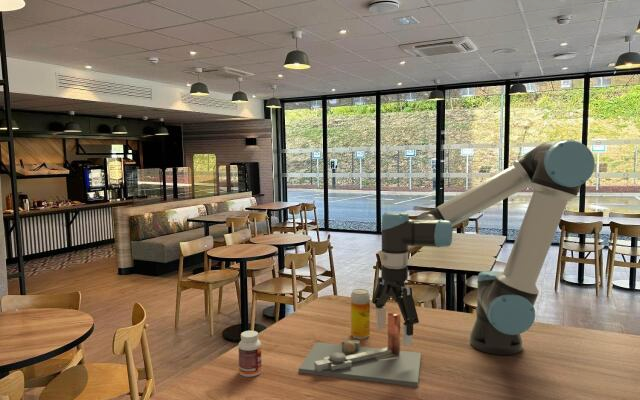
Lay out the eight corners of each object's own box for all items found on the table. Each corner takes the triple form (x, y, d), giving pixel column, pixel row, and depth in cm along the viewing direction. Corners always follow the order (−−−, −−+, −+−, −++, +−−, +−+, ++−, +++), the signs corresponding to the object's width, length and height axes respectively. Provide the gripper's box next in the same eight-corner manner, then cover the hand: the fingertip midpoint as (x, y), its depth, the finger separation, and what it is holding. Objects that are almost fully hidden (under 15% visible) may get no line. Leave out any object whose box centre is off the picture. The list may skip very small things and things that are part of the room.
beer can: (368, 340, 150) (368, 294, 148) (349, 338, 151) (349, 293, 150) (370, 333, 156) (370, 289, 154) (352, 331, 157) (352, 288, 156)
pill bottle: (263, 376, 127) (262, 337, 126) (239, 379, 126) (238, 339, 124) (260, 366, 133) (259, 328, 132) (238, 368, 132) (237, 330, 130)
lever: (320, 374, 125) (320, 332, 124) (311, 365, 130) (311, 325, 129) (404, 354, 136) (404, 316, 135) (393, 347, 141) (394, 310, 140)
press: (421, 356, 138) (421, 341, 138) (417, 386, 121) (417, 369, 120) (316, 345, 146) (315, 331, 146) (298, 372, 129) (298, 355, 128)
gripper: (361, 257, 145) (361, 324, 147) (409, 277, 122) (408, 356, 125) (382, 255, 148) (381, 320, 150) (432, 274, 125) (431, 350, 128)
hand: (393, 336), depth 137 cm, fingers open, 13 cm apart
